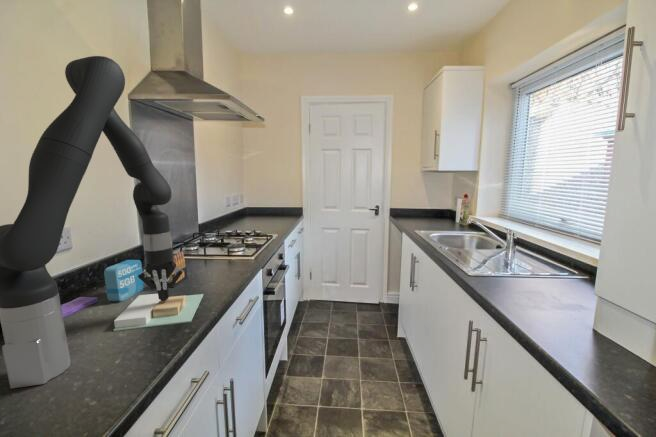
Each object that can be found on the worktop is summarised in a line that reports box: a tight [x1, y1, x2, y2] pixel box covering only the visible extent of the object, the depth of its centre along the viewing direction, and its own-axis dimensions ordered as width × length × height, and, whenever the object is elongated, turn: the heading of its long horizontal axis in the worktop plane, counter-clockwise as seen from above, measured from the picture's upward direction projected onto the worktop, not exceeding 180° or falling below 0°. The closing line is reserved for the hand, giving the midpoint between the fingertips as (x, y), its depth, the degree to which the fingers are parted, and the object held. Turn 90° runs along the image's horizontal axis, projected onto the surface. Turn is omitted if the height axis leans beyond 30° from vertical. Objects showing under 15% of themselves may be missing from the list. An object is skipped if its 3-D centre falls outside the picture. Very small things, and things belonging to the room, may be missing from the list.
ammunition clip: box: [169, 250, 189, 289], centre depth 118 cm, size 11×2×12 cm, turn 179°
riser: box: [113, 293, 160, 329], centre depth 93 cm, size 18×8×2 cm, turn 13°
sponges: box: [61, 296, 99, 318], centre depth 97 cm, size 7×13×2 cm, turn 170°
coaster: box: [153, 294, 187, 317], centre depth 94 cm, size 9×7×2 cm
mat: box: [113, 293, 204, 332], centre depth 94 cm, size 20×20×1 cm
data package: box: [103, 259, 145, 302], centre depth 106 cm, size 12×4×12 cm, turn 174°
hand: (164, 299), depth 94 cm, fingers closed
